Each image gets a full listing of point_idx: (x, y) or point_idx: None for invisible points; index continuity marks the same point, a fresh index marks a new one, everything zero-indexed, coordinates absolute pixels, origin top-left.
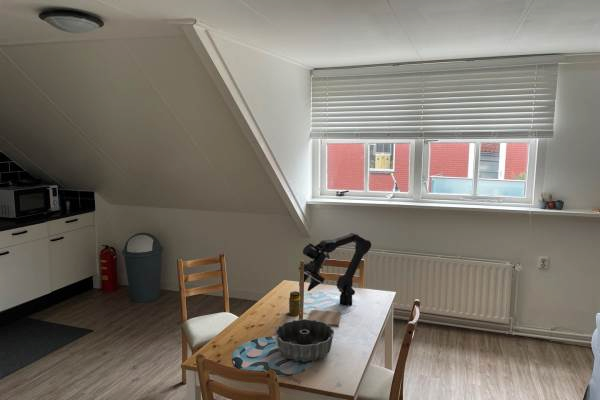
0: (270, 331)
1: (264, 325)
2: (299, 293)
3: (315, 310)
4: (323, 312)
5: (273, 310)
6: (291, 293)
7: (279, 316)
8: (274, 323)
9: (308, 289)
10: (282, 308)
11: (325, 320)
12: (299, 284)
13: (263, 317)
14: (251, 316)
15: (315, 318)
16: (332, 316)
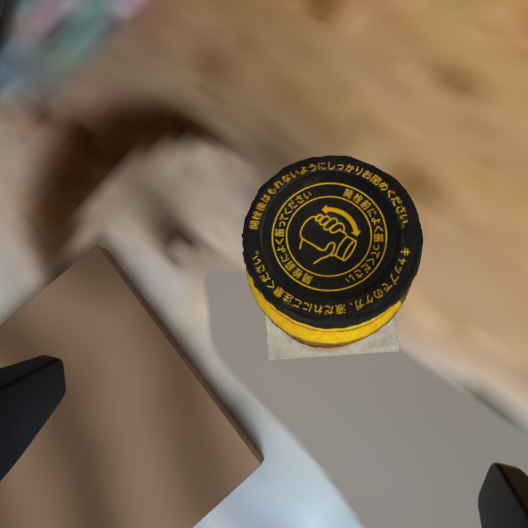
0: (201, 8)
1: (299, 15)
2: (267, 292)
3: (222, 487)
4: (131, 515)
5: (515, 194)
6: (348, 172)
7: None
8: (282, 79)
9: (11, 371)
10: (512, 287)
11: None
12: (504, 473)
13: (426, 64)
14: (499, 5)
15: (96, 349)
16: (13, 511)
